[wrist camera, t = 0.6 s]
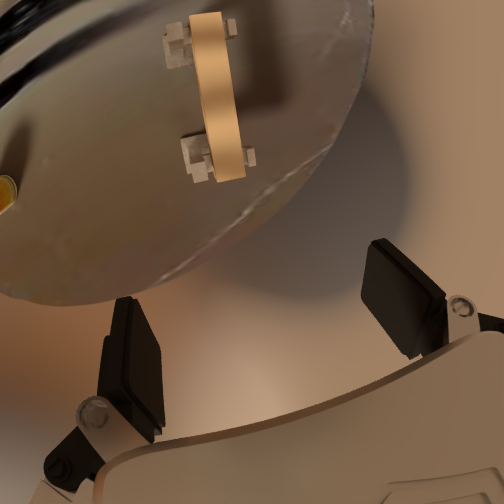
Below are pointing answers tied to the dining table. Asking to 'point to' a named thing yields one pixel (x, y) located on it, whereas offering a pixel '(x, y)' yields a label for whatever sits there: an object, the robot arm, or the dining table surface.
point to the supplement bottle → (7, 192)
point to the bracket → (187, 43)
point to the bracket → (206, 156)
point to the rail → (216, 95)
